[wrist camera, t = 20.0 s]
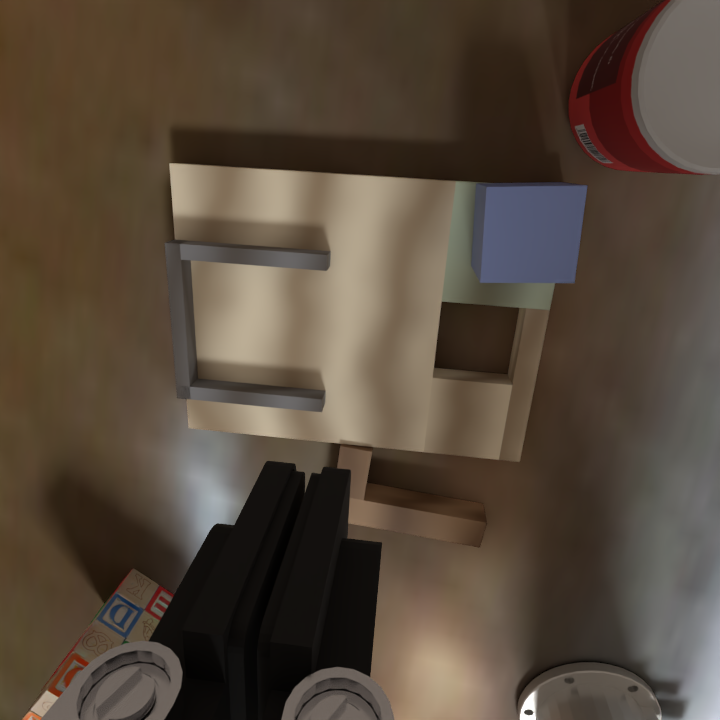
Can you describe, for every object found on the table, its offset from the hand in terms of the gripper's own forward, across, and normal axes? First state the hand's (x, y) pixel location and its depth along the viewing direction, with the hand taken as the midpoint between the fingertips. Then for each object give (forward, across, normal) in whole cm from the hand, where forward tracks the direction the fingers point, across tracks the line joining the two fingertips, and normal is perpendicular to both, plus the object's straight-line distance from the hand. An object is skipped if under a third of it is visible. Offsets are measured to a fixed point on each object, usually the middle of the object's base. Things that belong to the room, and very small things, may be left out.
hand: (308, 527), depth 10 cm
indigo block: (+25, -8, -4) cm, 27 cm away
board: (+27, +2, +4) cm, 27 cm away
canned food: (+27, -14, -11) cm, 33 cm away
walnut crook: (+27, -3, +17) cm, 32 cm away
